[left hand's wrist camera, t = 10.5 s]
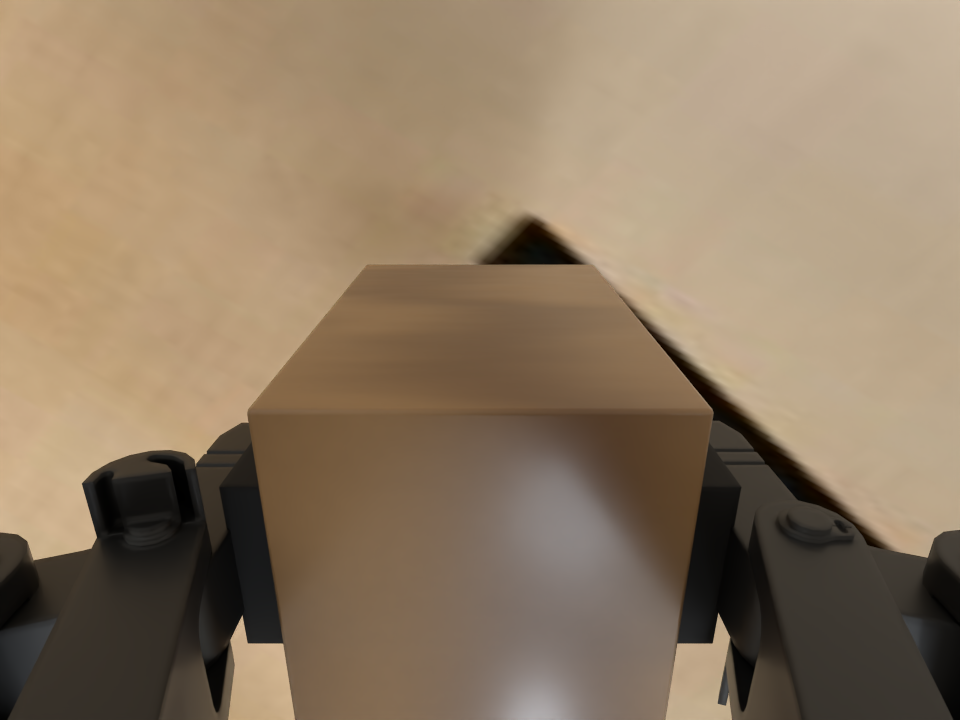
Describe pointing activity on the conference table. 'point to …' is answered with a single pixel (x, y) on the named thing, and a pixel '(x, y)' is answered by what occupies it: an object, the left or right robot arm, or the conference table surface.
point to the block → (480, 499)
